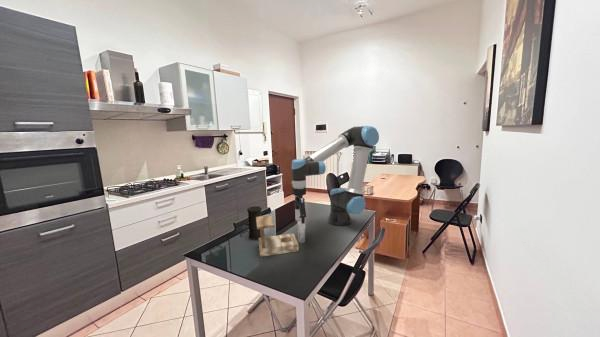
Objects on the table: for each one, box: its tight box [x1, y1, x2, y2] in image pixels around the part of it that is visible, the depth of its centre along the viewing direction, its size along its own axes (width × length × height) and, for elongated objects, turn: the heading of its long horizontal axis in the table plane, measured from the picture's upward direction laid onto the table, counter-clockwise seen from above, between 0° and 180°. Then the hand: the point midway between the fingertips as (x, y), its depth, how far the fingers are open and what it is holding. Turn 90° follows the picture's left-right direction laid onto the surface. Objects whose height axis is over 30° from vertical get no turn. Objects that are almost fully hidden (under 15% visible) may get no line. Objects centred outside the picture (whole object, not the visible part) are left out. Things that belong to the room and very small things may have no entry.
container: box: [247, 205, 263, 241], centre depth 147 cm, size 9×9×18 cm
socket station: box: [256, 215, 300, 258], centre depth 132 cm, size 20×15×16 cm
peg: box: [296, 220, 306, 244], centre depth 139 cm, size 4×4×12 cm
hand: (300, 224), depth 138 cm, fingers open, 13 cm apart
